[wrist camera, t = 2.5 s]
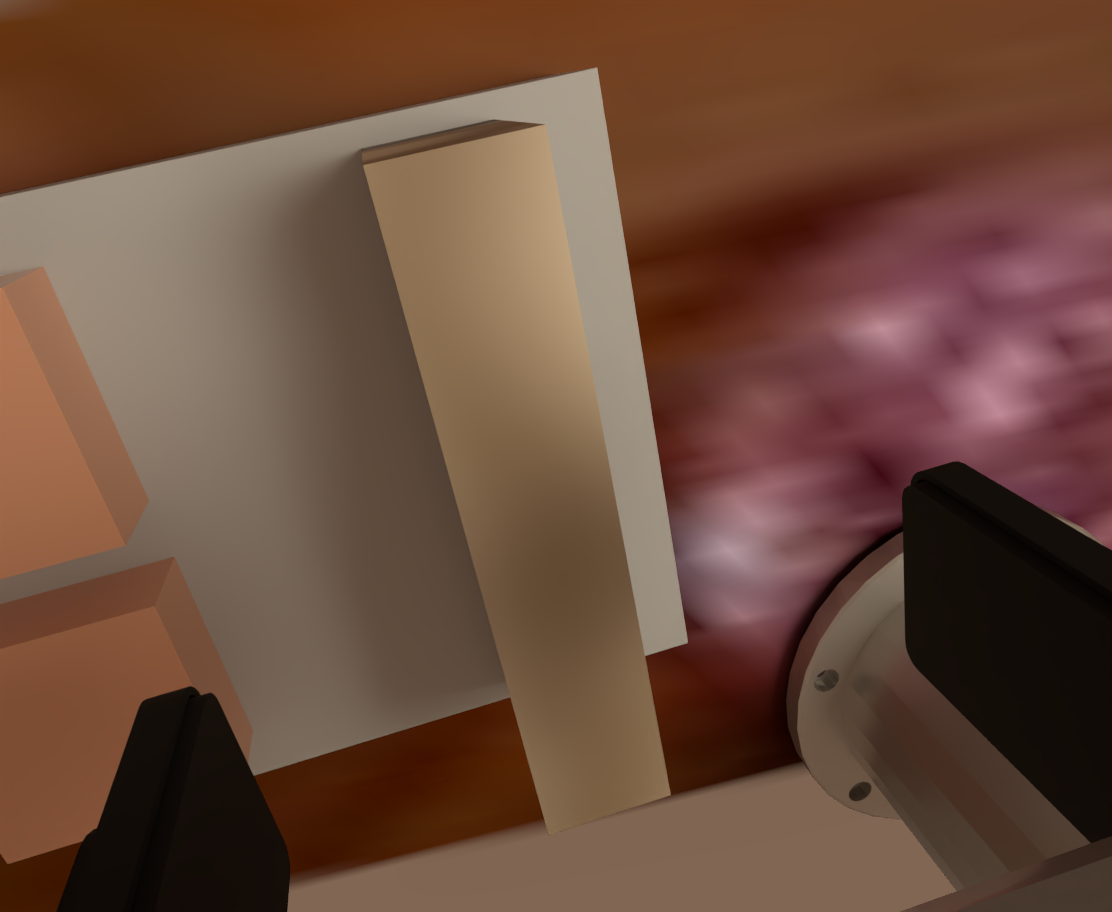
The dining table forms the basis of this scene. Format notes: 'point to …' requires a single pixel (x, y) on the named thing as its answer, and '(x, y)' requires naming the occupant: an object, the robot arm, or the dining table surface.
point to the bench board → (322, 411)
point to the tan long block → (524, 451)
